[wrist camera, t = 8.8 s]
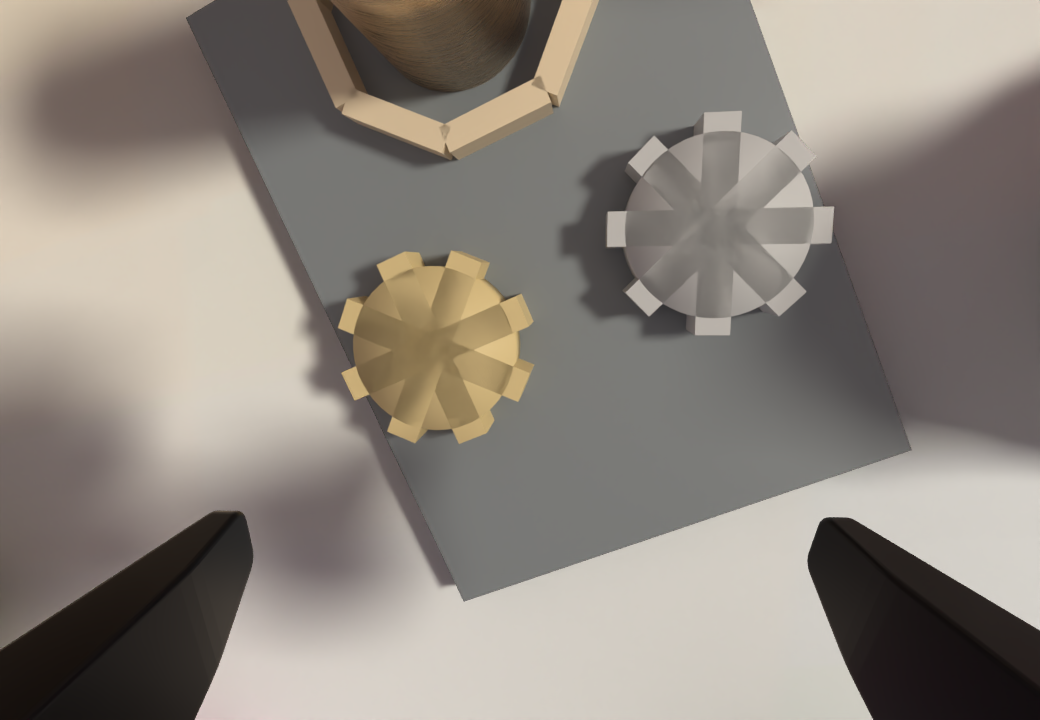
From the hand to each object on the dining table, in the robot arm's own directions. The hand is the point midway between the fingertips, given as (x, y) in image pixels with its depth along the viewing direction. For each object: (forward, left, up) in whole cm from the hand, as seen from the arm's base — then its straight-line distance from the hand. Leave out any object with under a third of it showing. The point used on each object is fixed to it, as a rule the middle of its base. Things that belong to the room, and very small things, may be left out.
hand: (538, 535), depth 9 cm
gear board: (+5, +2, -11) cm, 13 cm away
